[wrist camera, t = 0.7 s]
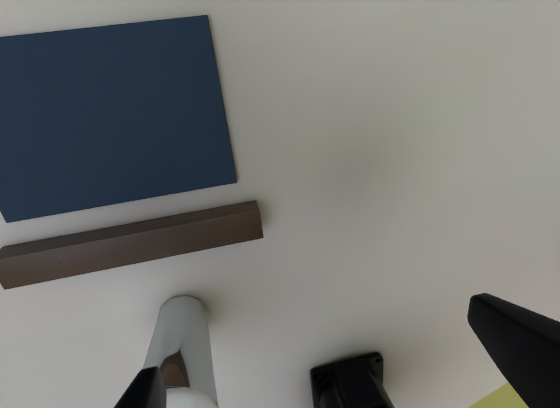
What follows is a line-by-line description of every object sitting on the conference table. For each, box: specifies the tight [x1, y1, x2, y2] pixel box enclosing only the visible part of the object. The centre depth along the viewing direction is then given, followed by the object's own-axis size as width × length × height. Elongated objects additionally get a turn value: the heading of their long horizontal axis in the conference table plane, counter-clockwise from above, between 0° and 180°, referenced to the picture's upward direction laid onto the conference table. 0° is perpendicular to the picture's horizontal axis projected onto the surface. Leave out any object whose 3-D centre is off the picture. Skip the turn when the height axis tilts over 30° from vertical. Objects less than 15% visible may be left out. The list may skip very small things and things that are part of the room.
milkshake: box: [143, 295, 219, 408], centre depth 20 cm, size 5×5×10 cm
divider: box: [0, 201, 263, 290], centre depth 20 cm, size 2×15×2 cm, turn 96°
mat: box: [0, 15, 237, 223], centre depth 18 cm, size 9×13×1 cm
